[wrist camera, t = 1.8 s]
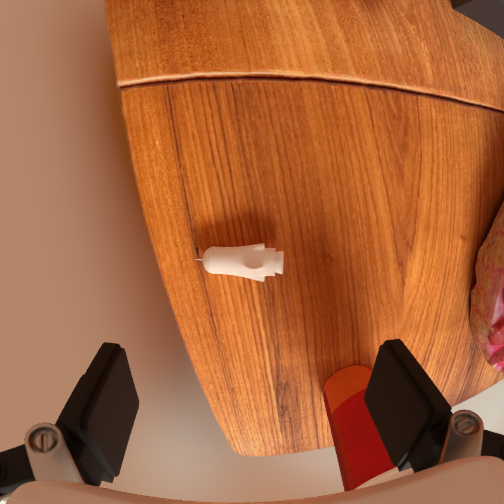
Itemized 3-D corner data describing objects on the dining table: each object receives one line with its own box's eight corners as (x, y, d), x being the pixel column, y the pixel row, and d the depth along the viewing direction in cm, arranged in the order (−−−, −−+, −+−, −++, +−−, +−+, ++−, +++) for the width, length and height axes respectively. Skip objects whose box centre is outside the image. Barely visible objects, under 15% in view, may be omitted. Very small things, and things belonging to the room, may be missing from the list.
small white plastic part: (210, 215, 21) (206, 225, 18) (287, 246, 22) (295, 261, 19) (192, 259, 22) (186, 276, 19) (266, 288, 23) (271, 308, 20)
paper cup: (365, 408, 29) (408, 507, 15) (302, 409, 28) (330, 525, 15) (394, 355, 26) (461, 459, 13) (326, 353, 25) (379, 484, 12)
